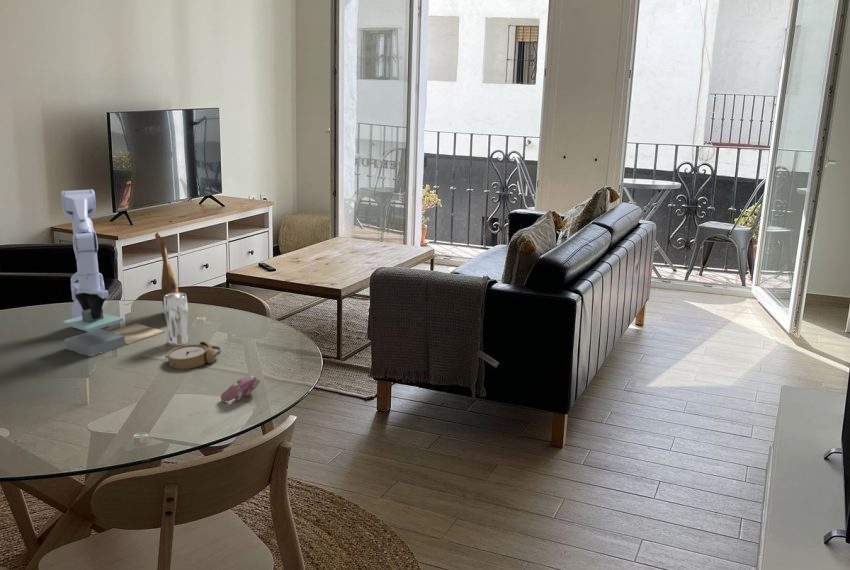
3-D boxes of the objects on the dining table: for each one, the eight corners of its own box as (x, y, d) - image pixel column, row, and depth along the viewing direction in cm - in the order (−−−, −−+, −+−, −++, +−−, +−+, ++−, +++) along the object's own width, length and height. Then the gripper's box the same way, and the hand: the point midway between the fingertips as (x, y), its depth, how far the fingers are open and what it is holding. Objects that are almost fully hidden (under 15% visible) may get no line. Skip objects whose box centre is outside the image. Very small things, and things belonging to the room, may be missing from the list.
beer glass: (193, 339, 256) (190, 292, 252) (185, 346, 249) (181, 299, 245) (172, 338, 256) (168, 291, 252) (162, 345, 250) (159, 298, 246)
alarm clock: (163, 350, 239) (213, 334, 244) (167, 365, 240) (217, 349, 246) (170, 362, 229) (222, 346, 235) (174, 378, 231) (226, 361, 236)
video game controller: (230, 410, 209) (238, 390, 206) (217, 399, 211) (225, 379, 207) (256, 397, 217) (264, 377, 214) (245, 386, 219) (252, 367, 216)
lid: (63, 323, 244) (61, 311, 243) (98, 313, 254) (97, 301, 253) (88, 331, 238) (86, 318, 237) (123, 320, 248) (122, 308, 246)
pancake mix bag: (160, 326, 267) (153, 241, 260) (161, 309, 285) (154, 229, 277) (182, 324, 269) (176, 240, 262) (181, 307, 287) (175, 228, 279)
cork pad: (98, 335, 258) (98, 334, 258) (135, 324, 269) (135, 323, 269) (127, 344, 250) (127, 343, 250) (164, 332, 262) (164, 331, 262)
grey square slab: (65, 348, 246) (64, 339, 245) (100, 337, 256) (99, 328, 255) (90, 357, 240) (89, 347, 239) (125, 345, 250) (124, 336, 249)
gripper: (61, 272, 242) (66, 316, 246) (91, 280, 235) (96, 325, 238) (82, 267, 248) (86, 310, 252) (113, 274, 240) (117, 319, 244)
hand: (92, 317), depth 245 cm, fingers closed on lid, 3 cm apart
